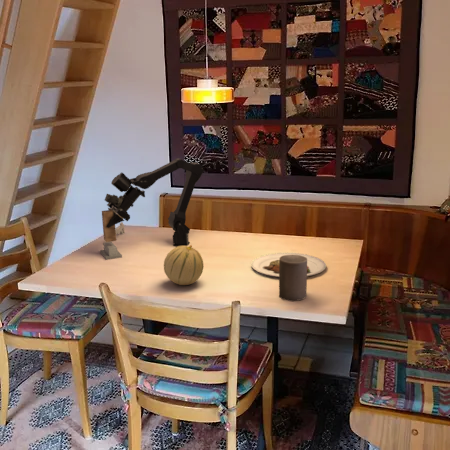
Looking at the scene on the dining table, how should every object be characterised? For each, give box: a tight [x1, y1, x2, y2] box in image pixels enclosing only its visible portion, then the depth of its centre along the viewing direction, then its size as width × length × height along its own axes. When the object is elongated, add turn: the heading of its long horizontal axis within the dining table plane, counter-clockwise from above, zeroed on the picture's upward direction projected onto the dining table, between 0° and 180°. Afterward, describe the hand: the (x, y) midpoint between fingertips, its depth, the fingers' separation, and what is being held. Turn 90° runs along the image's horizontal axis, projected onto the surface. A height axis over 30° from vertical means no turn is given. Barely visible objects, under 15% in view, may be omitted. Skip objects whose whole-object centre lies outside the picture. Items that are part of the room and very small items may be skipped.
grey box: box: [99, 241, 123, 261], centre depth 240 cm, size 12×7×4 cm, turn 25°
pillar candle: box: [278, 255, 308, 302], centre depth 188 cm, size 10×10×15 cm
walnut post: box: [101, 209, 117, 242], centre depth 237 cm, size 4×4×13 cm
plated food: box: [250, 252, 327, 278], centre depth 219 cm, size 30×30×3 cm
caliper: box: [102, 221, 125, 245], centre depth 266 cm, size 21×1×6 cm, turn 164°
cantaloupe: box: [163, 244, 204, 286], centre depth 202 cm, size 15×15×15 cm
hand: (105, 226), depth 236 cm, fingers closed on walnut post, 4 cm apart
